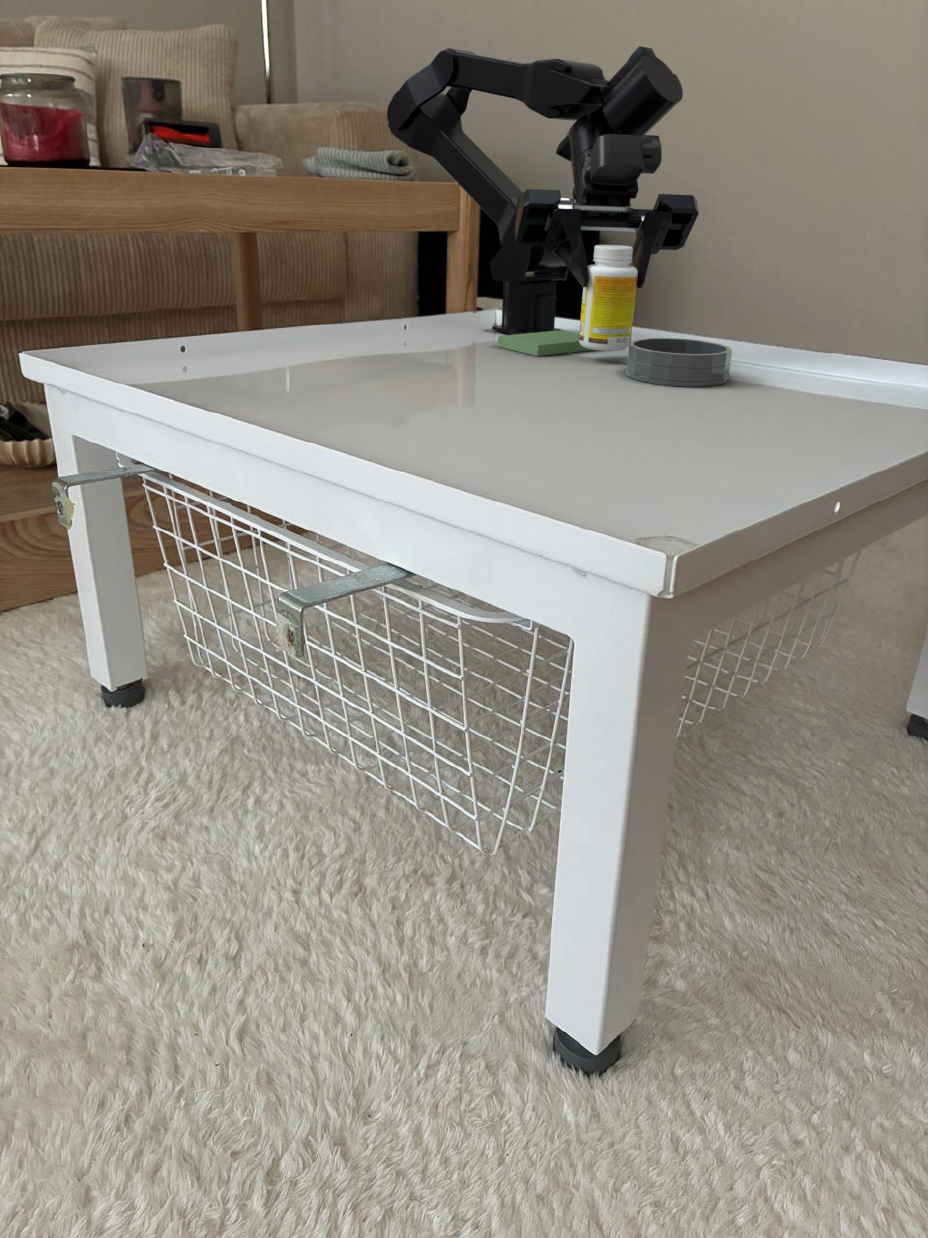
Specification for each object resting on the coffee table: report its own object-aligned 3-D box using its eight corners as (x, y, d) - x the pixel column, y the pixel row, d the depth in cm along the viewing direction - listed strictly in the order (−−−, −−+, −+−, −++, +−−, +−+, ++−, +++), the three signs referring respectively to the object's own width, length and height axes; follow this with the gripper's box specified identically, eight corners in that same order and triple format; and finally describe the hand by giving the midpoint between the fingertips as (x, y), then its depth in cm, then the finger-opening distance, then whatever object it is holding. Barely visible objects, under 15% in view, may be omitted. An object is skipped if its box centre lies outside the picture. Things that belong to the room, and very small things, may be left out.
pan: (605, 372, 96) (608, 342, 95) (671, 364, 102) (675, 335, 101) (681, 390, 89) (685, 358, 88) (747, 380, 95) (752, 349, 93)
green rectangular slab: (497, 346, 109) (497, 335, 108) (561, 340, 114) (562, 329, 114) (537, 356, 104) (538, 344, 103) (602, 349, 109) (603, 338, 109)
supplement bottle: (640, 350, 102) (652, 248, 97) (598, 353, 99) (608, 248, 95) (608, 341, 106) (618, 243, 101) (568, 344, 103) (576, 243, 99)
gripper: (526, 99, 95) (538, 226, 90) (706, 108, 97) (728, 232, 92) (510, 184, 105) (519, 301, 100) (672, 190, 107) (690, 305, 102)
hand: (613, 284), depth 98 cm, fingers closed on supplement bottle, 5 cm apart
